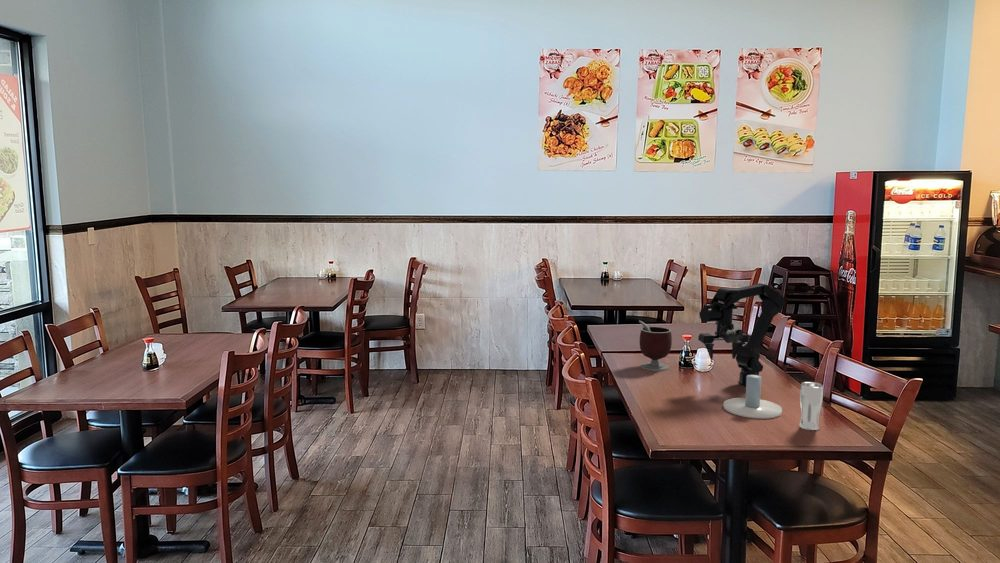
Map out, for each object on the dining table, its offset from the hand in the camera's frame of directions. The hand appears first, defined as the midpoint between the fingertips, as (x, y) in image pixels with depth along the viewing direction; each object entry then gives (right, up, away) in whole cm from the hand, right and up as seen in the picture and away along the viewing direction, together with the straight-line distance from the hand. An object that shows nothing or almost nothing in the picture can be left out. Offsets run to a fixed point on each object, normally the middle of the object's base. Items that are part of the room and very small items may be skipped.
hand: (722, 359), depth 277 cm
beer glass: (+16, -19, -42) cm, 49 cm away
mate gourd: (-20, -7, +33) cm, 40 cm away
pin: (+3, -14, -24) cm, 28 cm away
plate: (+3, -16, -24) cm, 29 cm away
